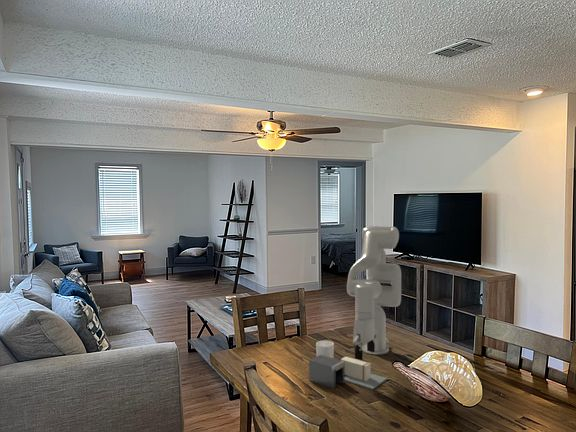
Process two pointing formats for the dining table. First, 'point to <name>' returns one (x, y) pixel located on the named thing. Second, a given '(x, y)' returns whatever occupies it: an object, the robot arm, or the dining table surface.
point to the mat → (370, 383)
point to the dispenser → (326, 371)
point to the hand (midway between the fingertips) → (364, 355)
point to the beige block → (357, 368)
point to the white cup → (325, 348)
